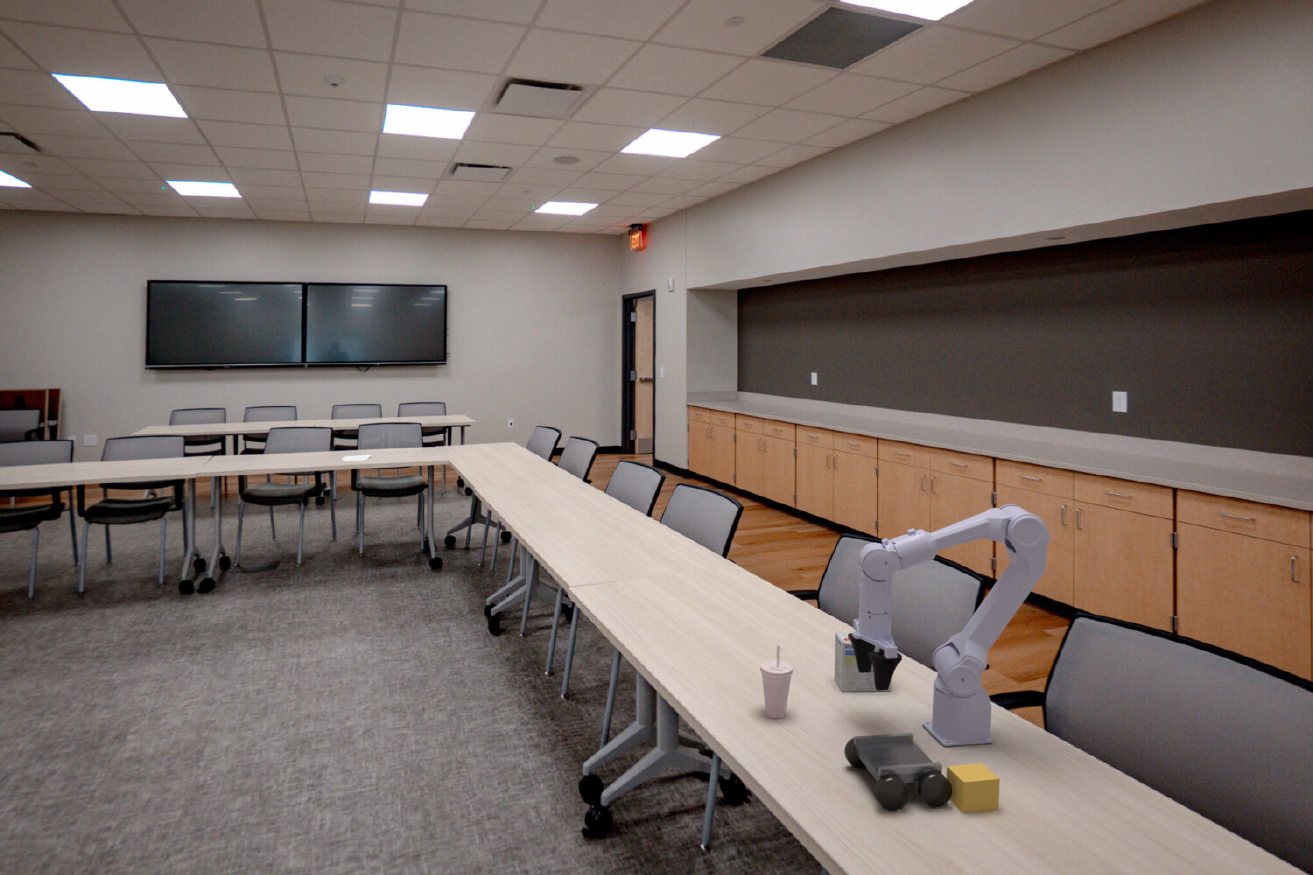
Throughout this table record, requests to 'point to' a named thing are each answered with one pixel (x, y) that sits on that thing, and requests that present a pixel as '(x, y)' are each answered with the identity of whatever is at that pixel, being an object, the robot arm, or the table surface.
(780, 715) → the smoothie
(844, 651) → the light bulb box
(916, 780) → the trolley
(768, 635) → the table surface
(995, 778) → the yellow block
